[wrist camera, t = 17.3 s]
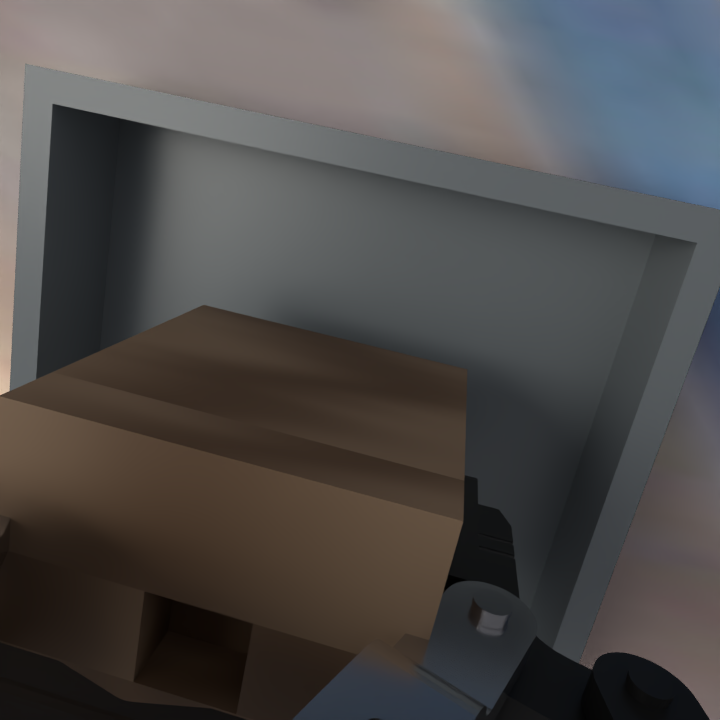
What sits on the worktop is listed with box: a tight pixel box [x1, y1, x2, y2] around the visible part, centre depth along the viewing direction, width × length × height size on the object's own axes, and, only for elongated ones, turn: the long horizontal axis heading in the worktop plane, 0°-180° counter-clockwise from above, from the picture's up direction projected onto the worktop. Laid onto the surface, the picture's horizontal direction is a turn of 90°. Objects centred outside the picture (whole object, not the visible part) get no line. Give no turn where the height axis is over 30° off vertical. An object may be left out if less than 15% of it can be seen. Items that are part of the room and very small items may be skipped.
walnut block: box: [0, 305, 467, 720], centre depth 11 cm, size 6×6×6 cm
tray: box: [10, 64, 720, 663], centre depth 15 cm, size 13×13×3 cm
